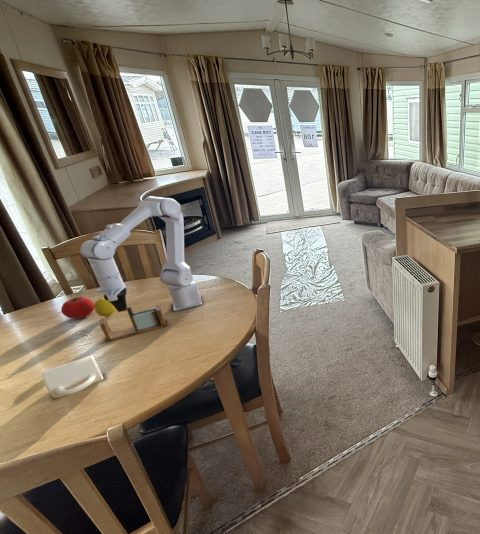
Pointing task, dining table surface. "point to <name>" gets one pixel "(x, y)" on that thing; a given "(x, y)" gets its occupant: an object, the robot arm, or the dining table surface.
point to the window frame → (131, 331)
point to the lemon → (104, 307)
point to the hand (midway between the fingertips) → (122, 310)
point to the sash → (143, 319)
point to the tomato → (77, 307)
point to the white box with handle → (72, 376)
